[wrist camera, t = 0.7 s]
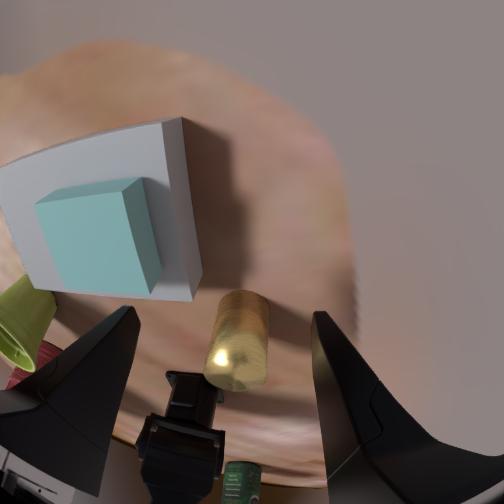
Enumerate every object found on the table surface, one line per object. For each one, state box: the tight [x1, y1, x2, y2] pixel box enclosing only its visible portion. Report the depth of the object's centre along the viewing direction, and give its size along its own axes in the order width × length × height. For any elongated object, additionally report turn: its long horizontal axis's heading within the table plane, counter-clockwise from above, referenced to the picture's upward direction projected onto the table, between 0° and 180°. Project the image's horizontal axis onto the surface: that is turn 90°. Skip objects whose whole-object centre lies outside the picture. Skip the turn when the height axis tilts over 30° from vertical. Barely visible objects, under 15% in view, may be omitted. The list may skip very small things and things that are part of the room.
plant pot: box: [0, 274, 57, 372], centre depth 23 cm, size 9×9×9 cm
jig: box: [0, 117, 203, 302], centre depth 18 cm, size 12×17×4 cm
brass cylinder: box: [203, 290, 269, 392], centre depth 21 cm, size 4×4×7 cm
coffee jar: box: [221, 461, 262, 504], centre depth 46 cm, size 10×8×19 cm
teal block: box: [34, 176, 163, 295], centre depth 15 cm, size 6×7×2 cm
